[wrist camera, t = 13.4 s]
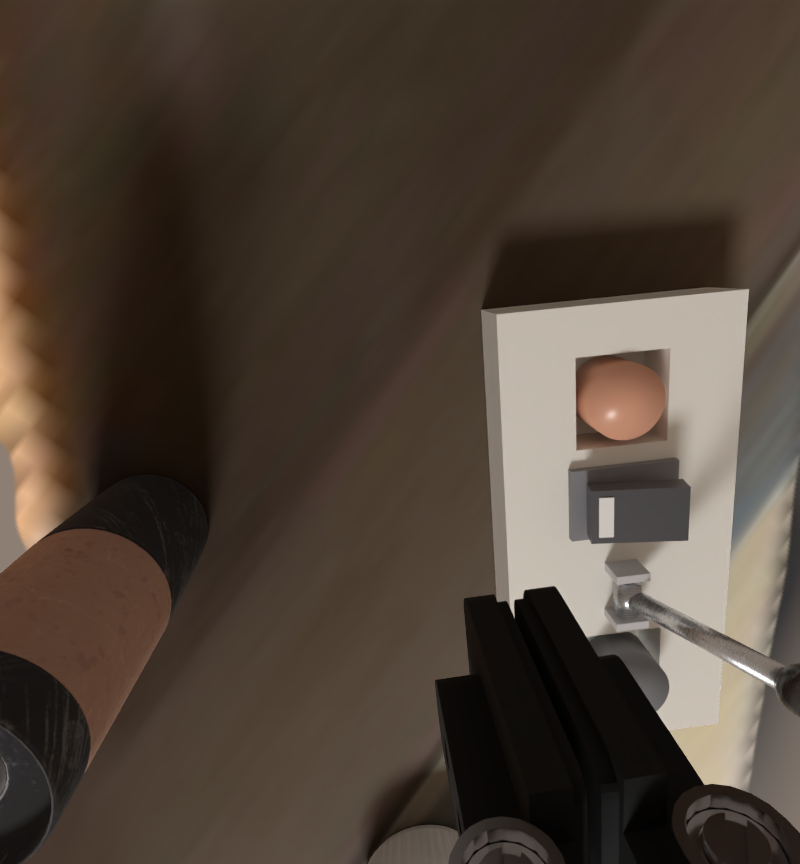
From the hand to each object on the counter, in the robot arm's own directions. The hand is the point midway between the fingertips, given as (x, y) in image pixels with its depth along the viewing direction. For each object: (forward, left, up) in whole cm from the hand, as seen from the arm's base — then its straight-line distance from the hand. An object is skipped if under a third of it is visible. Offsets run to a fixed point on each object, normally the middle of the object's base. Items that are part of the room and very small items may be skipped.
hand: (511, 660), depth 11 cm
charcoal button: (+19, +12, -23) cm, 32 cm away
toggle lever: (+13, +12, -21) cm, 28 cm away
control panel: (+10, +12, -26) cm, 31 cm away
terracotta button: (+1, +12, -25) cm, 28 cm away
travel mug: (+7, -17, -26) cm, 32 cm away
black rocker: (+7, +12, -20) cm, 25 cm away
